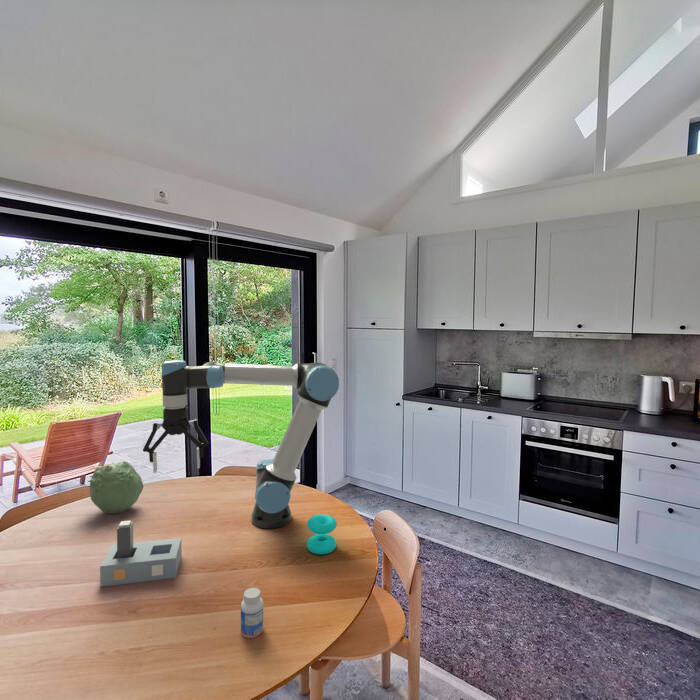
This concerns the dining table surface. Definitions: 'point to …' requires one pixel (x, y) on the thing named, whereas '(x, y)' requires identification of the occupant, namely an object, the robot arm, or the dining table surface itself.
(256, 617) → the pill bottle
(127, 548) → the plug
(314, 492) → the dining table surface
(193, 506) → the dining table surface
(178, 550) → the socket block
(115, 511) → the cabbage
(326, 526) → the turquoise spool
